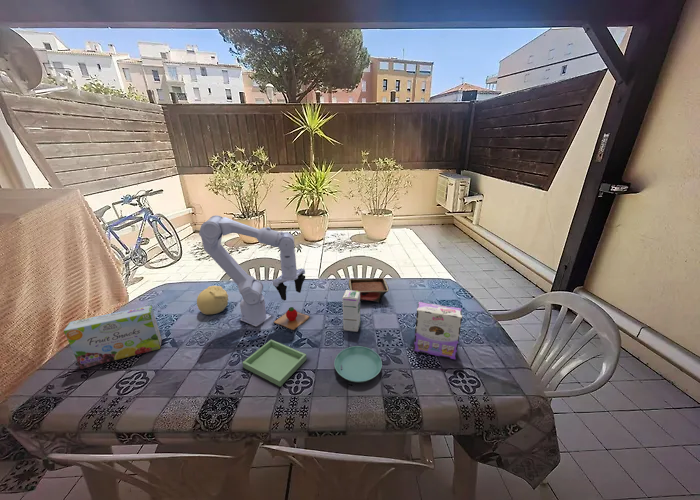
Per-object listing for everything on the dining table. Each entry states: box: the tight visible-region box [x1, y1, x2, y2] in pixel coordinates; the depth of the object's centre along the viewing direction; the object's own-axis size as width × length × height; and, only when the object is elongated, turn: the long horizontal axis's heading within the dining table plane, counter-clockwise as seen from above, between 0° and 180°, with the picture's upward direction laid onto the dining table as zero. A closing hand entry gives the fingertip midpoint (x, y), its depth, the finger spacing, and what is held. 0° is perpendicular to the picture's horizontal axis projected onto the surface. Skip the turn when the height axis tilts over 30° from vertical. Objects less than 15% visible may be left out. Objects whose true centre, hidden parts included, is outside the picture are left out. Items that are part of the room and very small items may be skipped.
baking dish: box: [347, 277, 390, 304], centre depth 124 cm, size 14×18×10 cm
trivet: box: [273, 311, 311, 331], centre depth 109 cm, size 10×10×1 cm
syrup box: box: [341, 289, 361, 333], centre depth 102 cm, size 6×6×14 cm
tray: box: [241, 339, 307, 388], centre depth 86 cm, size 15×12×2 cm
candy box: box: [412, 301, 463, 360], centre depth 90 cm, size 14×6×16 cm, turn 71°
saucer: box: [333, 345, 383, 384], centre depth 84 cm, size 15×15×3 cm
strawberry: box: [285, 306, 298, 321], centre depth 108 cm, size 4×4×5 cm
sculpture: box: [196, 285, 229, 316], centre depth 114 cm, size 12×12×11 cm
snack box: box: [63, 305, 163, 370], centre depth 88 cm, size 21×6×15 cm, turn 117°
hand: (291, 295), depth 109 cm, fingers open, 7 cm apart
